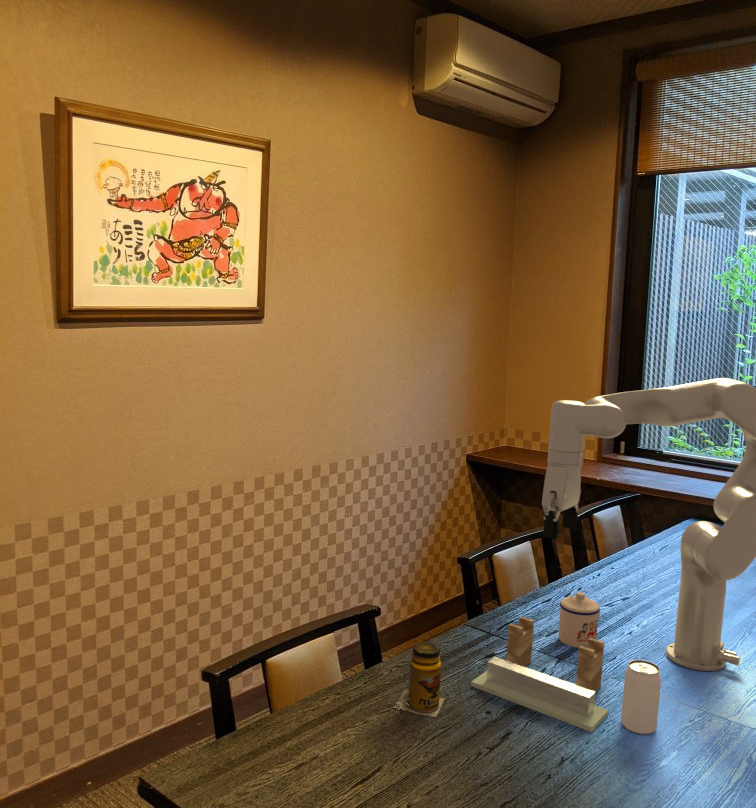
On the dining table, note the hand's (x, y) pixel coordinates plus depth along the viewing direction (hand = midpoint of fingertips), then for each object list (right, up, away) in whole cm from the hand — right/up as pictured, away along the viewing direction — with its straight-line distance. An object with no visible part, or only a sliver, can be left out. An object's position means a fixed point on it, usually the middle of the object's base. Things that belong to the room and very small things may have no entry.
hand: (559, 533), depth 176 cm
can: (+9, -33, -25) cm, 42 cm away
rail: (-8, -30, -17) cm, 35 cm away
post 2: (+3, -30, -12) cm, 33 cm away
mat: (-8, -31, -17) cm, 36 cm away
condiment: (-32, -31, -20) cm, 49 cm away
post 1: (-10, -29, -2) cm, 30 cm away
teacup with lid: (+8, -27, +12) cm, 31 cm away
